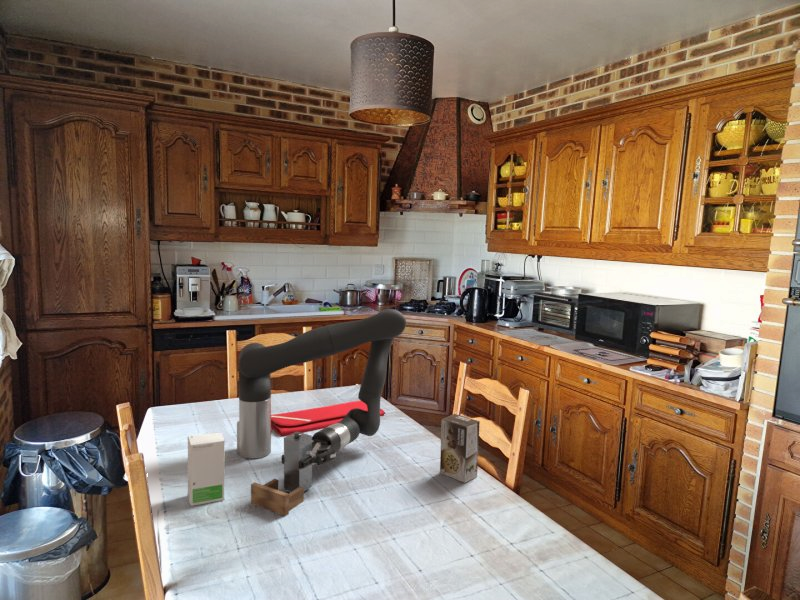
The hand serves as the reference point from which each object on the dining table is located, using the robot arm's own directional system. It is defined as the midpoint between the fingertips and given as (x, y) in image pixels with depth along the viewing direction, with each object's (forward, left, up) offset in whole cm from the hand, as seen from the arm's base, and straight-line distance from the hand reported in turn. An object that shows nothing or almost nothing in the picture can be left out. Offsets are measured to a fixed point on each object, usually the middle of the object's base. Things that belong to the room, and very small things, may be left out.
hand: (291, 462), depth 131 cm
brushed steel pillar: (0, +3, -8) cm, 8 cm away
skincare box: (-17, -12, -9) cm, 23 cm away
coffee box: (+32, +34, -9) cm, 47 cm away
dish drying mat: (-26, +49, -9) cm, 56 cm away
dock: (0, -4, -9) cm, 10 cm away
